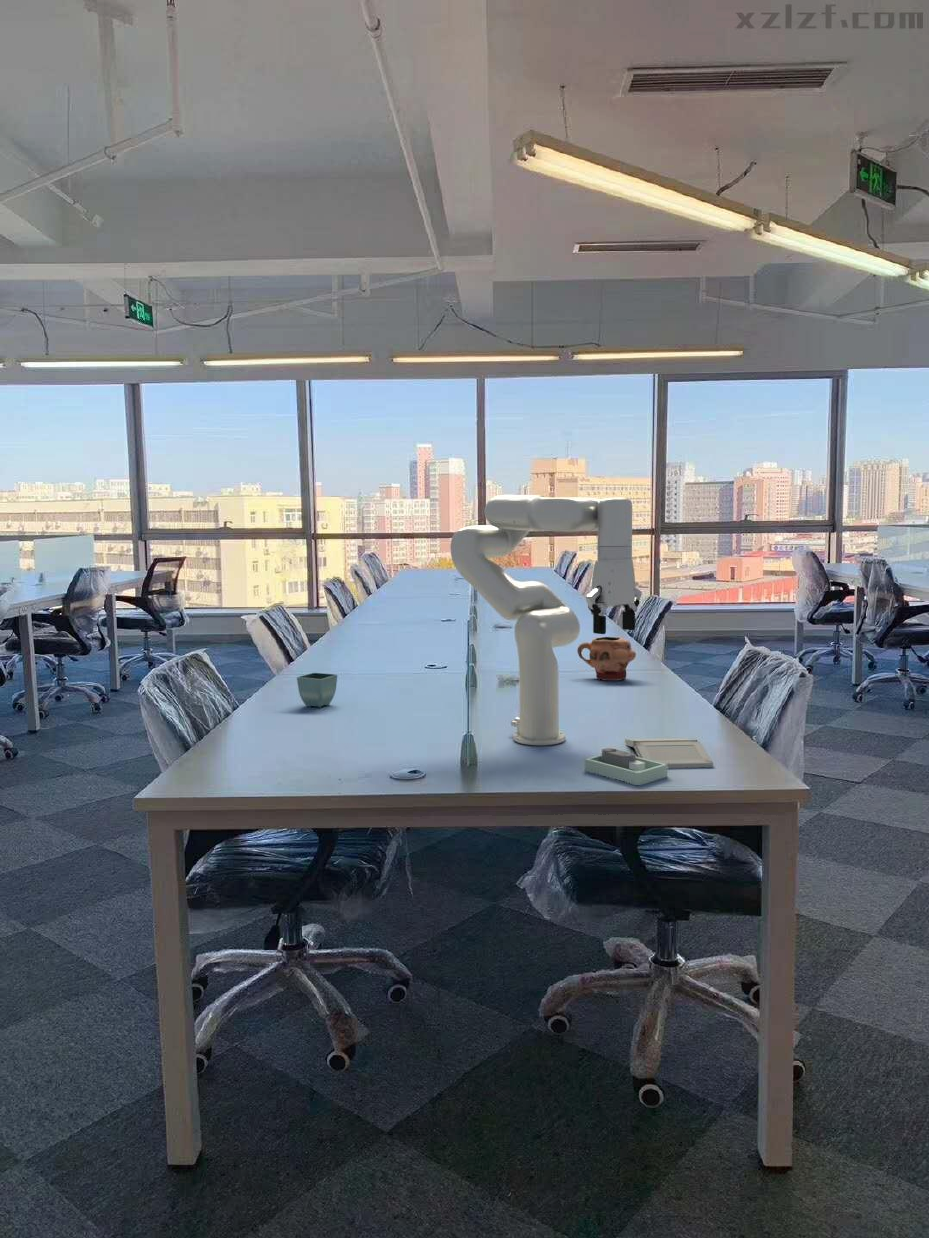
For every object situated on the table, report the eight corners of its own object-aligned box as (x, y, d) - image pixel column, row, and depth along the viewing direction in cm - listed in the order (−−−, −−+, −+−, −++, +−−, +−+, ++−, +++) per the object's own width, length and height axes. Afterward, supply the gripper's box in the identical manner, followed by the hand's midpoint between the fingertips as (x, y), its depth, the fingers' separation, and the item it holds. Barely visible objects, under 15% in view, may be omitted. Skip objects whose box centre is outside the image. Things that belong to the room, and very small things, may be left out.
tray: (584, 770, 188) (584, 758, 188) (614, 762, 194) (614, 751, 194) (637, 785, 177) (638, 773, 177) (667, 776, 183) (667, 764, 183)
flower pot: (339, 703, 262) (338, 673, 261) (322, 709, 254) (321, 678, 253) (314, 701, 265) (313, 672, 264) (296, 707, 257) (295, 677, 256)
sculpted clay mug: (572, 680, 294) (572, 638, 292) (581, 674, 305) (581, 634, 304) (632, 683, 286) (632, 641, 285) (639, 677, 298) (639, 636, 296)
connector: (598, 766, 189) (598, 750, 189) (608, 763, 191) (608, 747, 191) (636, 776, 181) (636, 759, 181) (646, 773, 183) (646, 756, 183)
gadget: (624, 744, 212) (624, 729, 212) (686, 743, 212) (686, 728, 212) (644, 771, 189) (644, 754, 189) (714, 770, 189) (714, 753, 189)
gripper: (627, 552, 203) (626, 626, 205) (574, 555, 192) (574, 633, 194) (653, 553, 197) (652, 629, 199) (601, 556, 186) (600, 636, 188)
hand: (614, 631), depth 197 cm, fingers open, 9 cm apart
